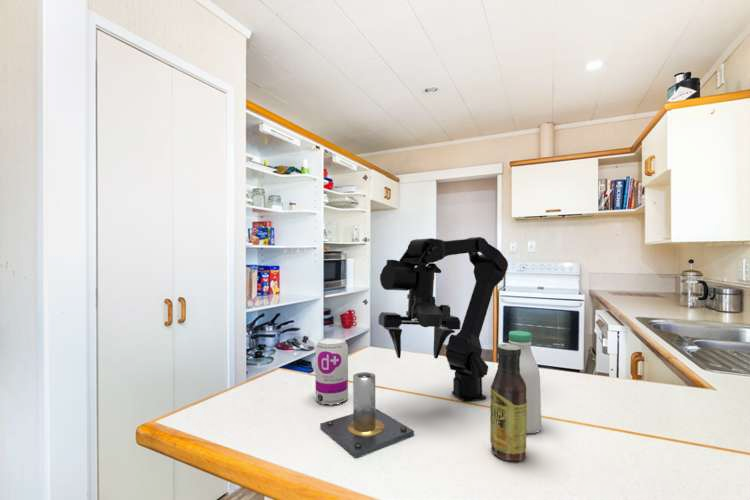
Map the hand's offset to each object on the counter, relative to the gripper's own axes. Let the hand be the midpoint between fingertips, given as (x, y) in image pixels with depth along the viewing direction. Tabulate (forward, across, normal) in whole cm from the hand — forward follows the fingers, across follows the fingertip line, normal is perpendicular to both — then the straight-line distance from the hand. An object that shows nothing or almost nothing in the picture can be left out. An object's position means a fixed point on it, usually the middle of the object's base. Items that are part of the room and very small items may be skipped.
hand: (417, 358), depth 84 cm
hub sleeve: (+13, -13, -6) cm, 19 cm away
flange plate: (+14, -13, -6) cm, 20 cm away
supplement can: (+14, -18, +13) cm, 26 cm away
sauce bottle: (+13, +11, -20) cm, 26 cm away
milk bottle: (+12, +20, -12) cm, 26 cm away
